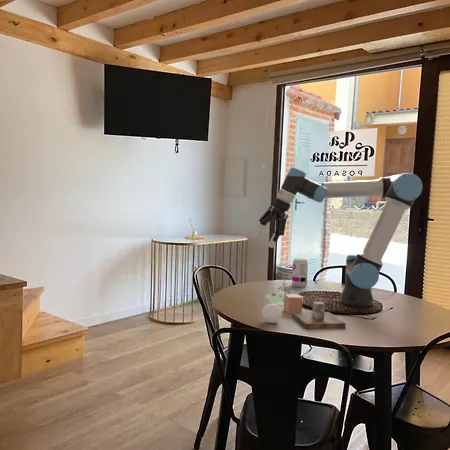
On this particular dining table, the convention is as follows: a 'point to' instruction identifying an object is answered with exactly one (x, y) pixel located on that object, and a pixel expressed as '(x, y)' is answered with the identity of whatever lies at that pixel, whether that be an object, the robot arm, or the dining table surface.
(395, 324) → the dining table surface
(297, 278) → the supplement can
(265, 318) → the geometric ball
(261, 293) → the dining table surface
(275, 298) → the plant
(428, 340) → the dining table surface
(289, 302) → the salmon pink block
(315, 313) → the post stand
